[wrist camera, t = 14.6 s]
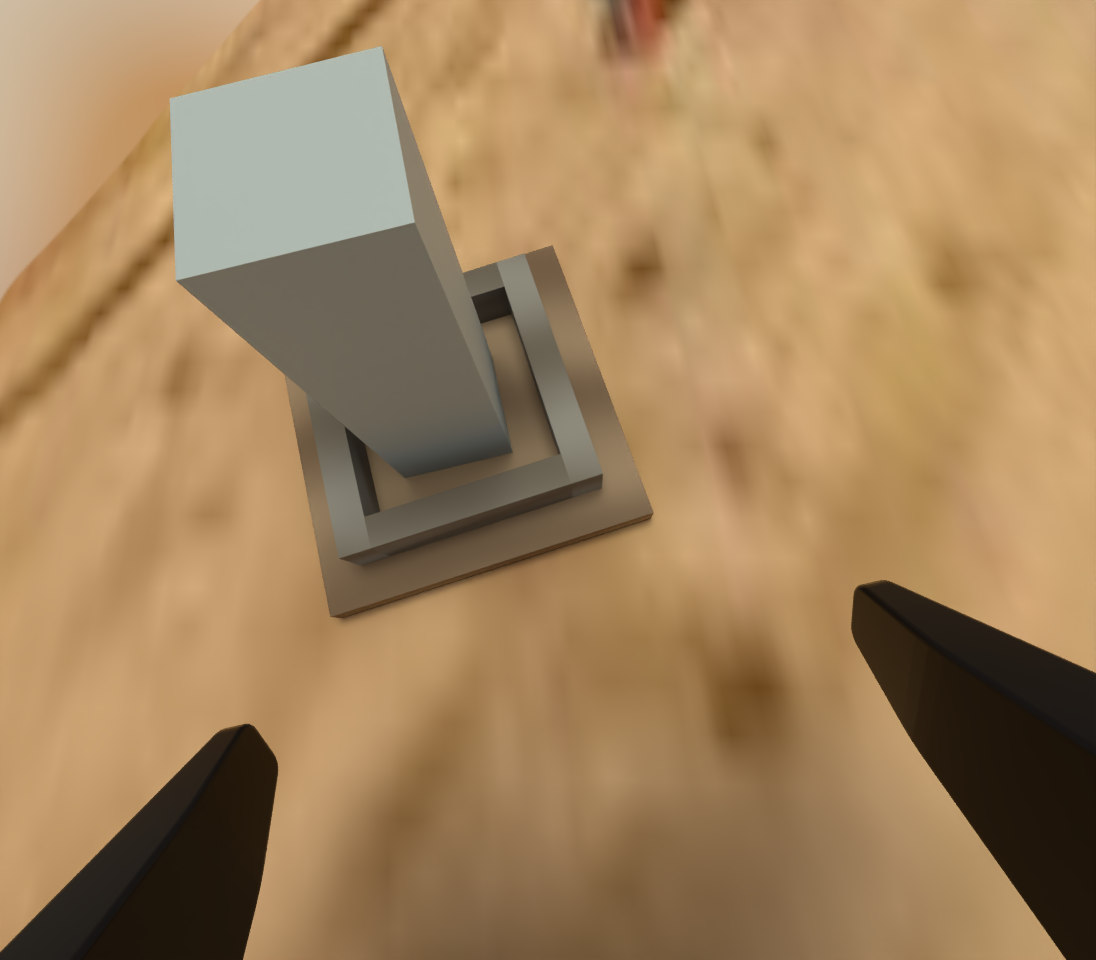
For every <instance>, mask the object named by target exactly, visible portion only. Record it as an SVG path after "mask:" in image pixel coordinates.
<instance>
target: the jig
mask: <svg viewBox="0 0 1096 960" xmlns="http://www.w3.org/2000/svg"><path fill="white" fill-rule="evenodd" d="M463 276H464V279H465V281H466V284H467V287H468V290H469V293H470V295H471V298H472V301H473V304H474V307H475V310H476V312H477V315H478V318H479V321H480V324H481V326H482V329H483V332H484V335H485V338H486V341H487V343H488V346H489V349H490V352H491V355H492V358H493V363H494V368H495V372H496V377H497V381H498V386H499V391H500V395H501V400H502V404H503V409H504V414H505V418H506V423H507V428H508V432H509V437H510V441H511V446H512V451H513V453H509V454H505V455H501V456H496V457H492V458H488V459H484V460H480V461H475V462H471V463H467V464H463V465H458V466H454V467H450V468H446V469H442V470H437V471H433V472H429V473H425V474H421V475H416V476H412V477H408V478H404V477H403V476H402V475H401V474H400V473H399V472H397V471H396V470H395V469H394V468H393V467H392V466H390V465H389V464H388V463H387V462H386V461H385V460H383V459H382V458H381V457H380V456H379V455H378V454H377V453H375V452H374V451H373V450H372V449H371V448H370V447H368V446H367V445H366V444H365V443H364V442H363V441H361V440H360V439H359V438H358V437H357V436H356V435H354V434H353V433H352V432H351V431H350V430H349V429H348V428H346V427H345V426H344V425H343V424H342V423H341V422H339V421H338V420H337V419H336V418H335V417H334V416H332V415H331V414H330V413H329V412H328V411H327V410H325V409H324V408H323V407H322V406H321V405H320V404H319V403H317V402H316V401H315V400H314V399H313V398H312V397H310V396H309V395H308V394H307V393H306V392H305V391H303V390H302V389H301V388H300V387H299V386H298V385H296V384H295V383H294V382H293V381H292V380H291V379H290V378H288V377H287V376H286V375H285V379H286V384H287V390H288V395H289V400H290V406H291V411H292V416H293V421H294V427H295V432H296V437H297V443H298V448H299V453H300V459H301V464H302V469H303V474H304V480H305V485H306V490H307V496H308V501H309V506H310V511H311V517H312V522H313V527H314V533H315V538H316V543H317V548H318V554H319V559H320V564H321V570H322V575H323V580H324V586H325V591H326V596H327V601H328V607H329V612H330V617H337V618H343V617H346V616H349V615H352V614H355V613H359V612H362V611H365V610H368V609H371V608H374V607H377V606H380V605H383V604H386V603H390V602H393V601H396V600H399V599H402V598H405V597H408V596H411V595H414V594H417V593H420V592H424V591H427V590H430V589H433V588H436V587H439V586H442V585H445V584H448V583H451V582H455V581H458V580H461V579H464V578H467V577H470V576H473V575H476V574H479V573H482V572H485V571H489V570H492V569H495V568H498V567H501V566H504V565H507V564H510V563H513V562H516V561H519V560H523V559H526V558H529V557H532V556H535V555H538V554H541V553H544V552H547V551H550V550H554V549H557V548H560V547H563V546H566V545H569V544H572V543H575V542H578V541H581V540H584V539H588V538H591V537H594V536H597V535H600V534H603V533H606V532H609V531H612V530H615V529H619V528H622V527H625V526H628V525H631V524H634V523H637V522H640V521H643V520H646V519H649V518H651V517H652V515H653V510H652V508H651V505H650V502H649V500H648V497H647V494H646V492H645V489H644V486H643V484H642V481H641V478H640V476H639V473H638V471H637V468H636V465H635V463H634V460H633V457H632V455H631V452H630V449H629V447H628V444H627V441H626V439H625V436H624V433H623V431H622V428H621V425H620V423H619V420H618V418H617V415H616V412H615V410H614V407H613V404H612V402H611V399H610V396H609V394H608V391H607V388H606V386H605V383H604V380H603V378H602V375H601V372H600V370H599V367H598V365H597V362H596V359H595V357H594V354H593V351H592V349H591V346H590V343H589V341H588V338H587V335H586V333H585V330H584V327H583V325H582V322H581V320H580V317H579V314H578V312H577V309H576V306H575V304H574V301H573V298H572V296H571V293H570V290H569V288H568V285H567V282H566V280H565V277H564V274H563V272H562V269H561V267H560V264H559V261H558V259H557V256H556V253H555V251H554V248H553V245H552V246H549V247H545V248H542V249H539V250H536V251H533V252H530V253H527V254H521V255H518V256H515V257H512V258H509V259H506V260H502V261H499V262H496V263H493V264H490V265H487V266H483V267H480V268H477V269H474V270H471V271H468V272H465V273H463Z"/></svg>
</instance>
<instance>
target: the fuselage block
mask: <svg viewBox="0 0 1096 960" xmlns="http://www.w3.org/2000/svg"><path fill="white" fill-rule="evenodd" d="M170 117H171V148H172V178H173V209H174V239H175V270H176V281H177V282H178V283H179V284H180V285H182V286H183V287H184V288H185V289H186V290H187V291H189V292H190V293H191V294H192V295H193V296H194V297H196V298H197V299H198V300H199V301H200V302H201V303H203V304H204V305H205V306H206V307H207V308H208V309H209V310H211V311H212V312H213V313H214V314H215V315H216V316H218V317H219V318H220V319H221V320H222V321H223V322H225V323H226V324H227V325H228V326H229V327H230V328H232V329H233V330H234V331H235V332H236V333H237V334H238V335H240V336H241V337H242V338H243V339H244V340H245V341H247V342H248V343H249V344H250V345H251V346H252V347H254V348H255V349H256V350H257V351H258V352H259V353H261V354H262V355H263V356H264V357H265V358H266V359H267V360H269V361H270V362H271V363H272V364H273V365H274V366H276V367H277V368H278V369H279V370H280V371H281V372H283V373H284V374H285V375H286V376H287V377H288V378H290V379H291V380H292V381H293V382H294V383H295V384H296V385H298V386H299V387H300V388H301V389H302V390H303V391H305V392H306V393H307V394H308V395H309V396H310V397H312V398H313V399H314V400H315V401H316V402H317V403H319V404H320V405H321V406H322V407H323V408H324V409H325V410H327V411H328V412H329V413H330V414H331V415H332V416H334V417H335V418H336V419H337V420H338V421H339V422H341V423H342V424H343V425H344V426H345V427H346V428H348V429H349V430H350V431H351V432H352V433H353V434H354V435H356V436H357V437H358V438H359V439H360V440H361V441H363V442H364V443H365V444H366V445H367V446H368V447H370V448H371V449H372V450H373V451H374V452H375V453H377V454H378V455H379V456H380V457H381V458H382V459H383V460H385V461H386V462H387V463H388V464H389V465H390V466H392V467H393V468H394V469H395V470H396V471H397V472H399V473H400V474H401V475H402V476H403V477H404V478H408V477H412V476H416V475H421V474H425V473H429V472H433V471H437V470H442V469H446V468H450V467H454V466H458V465H463V464H467V463H471V462H475V461H480V460H484V459H488V458H492V457H496V456H501V455H505V454H509V453H513V451H512V446H511V441H510V437H509V432H508V428H507V423H506V418H505V414H504V409H503V404H502V400H501V395H500V391H499V386H498V381H497V377H496V372H495V368H494V363H493V358H492V355H491V352H490V349H489V346H488V343H487V341H486V338H485V335H484V332H483V329H482V326H481V324H480V321H479V318H478V315H477V312H476V310H475V307H474V304H473V301H472V298H471V295H470V293H469V290H468V287H467V284H466V281H465V279H464V276H463V273H462V270H461V267H460V264H459V262H458V259H457V256H456V253H455V250H454V248H453V245H452V242H451V239H450V236H449V233H448V231H447V228H446V225H445V222H444V219H443V217H442V214H441V211H440V208H439V205H438V203H437V200H436V197H435V194H434V191H433V188H432V186H431V183H430V180H429V177H428V174H427V172H426V169H425V166H424V163H423V160H422V157H421V155H420V152H419V149H418V146H417V143H416V141H415V138H414V135H413V132H412V129H411V126H410V124H409V121H408V118H407V115H406V112H405V110H404V107H403V104H402V101H401V98H400V95H399V93H398V90H397V87H396V84H395V81H394V79H393V76H392V73H391V70H390V67H389V65H388V62H387V59H386V56H385V53H384V50H383V48H382V46H380V47H376V48H372V49H368V50H364V51H360V52H356V53H352V54H348V55H344V56H340V57H336V58H332V59H328V60H324V61H320V62H316V63H312V64H308V65H304V66H300V67H296V68H291V69H287V70H283V71H279V72H275V73H271V74H267V75H263V76H259V77H255V78H251V79H247V80H243V81H239V82H235V83H231V84H227V85H223V86H219V87H215V88H211V89H207V90H202V91H198V92H194V93H190V94H186V95H182V96H178V97H174V98H170Z"/></svg>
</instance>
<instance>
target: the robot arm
mask: <svg viewBox="0 0 1096 960" xmlns="http://www.w3.org/2000/svg"><path fill="white" fill-rule="evenodd" d="M851 629H852V634H853V638H854V640H855V642H856V644H857V646H858V648H859V650H860V651H861V653H862V655H863V657H864V658H865V660H866V662H867V664H868V665H869V667H870V669H871V671H872V673H873V674H874V676H875V678H876V680H877V681H878V683H879V685H880V687H881V688H882V690H883V692H884V694H885V695H886V697H887V699H888V701H889V702H890V704H891V706H892V708H893V709H894V711H895V713H896V715H897V717H898V718H899V720H900V722H901V724H902V725H903V727H904V729H905V730H906V732H907V734H908V735H909V737H910V739H911V740H912V742H913V743H914V745H915V746H916V748H917V749H918V751H919V752H920V754H921V755H922V757H923V758H924V759H925V761H926V762H927V764H928V765H929V767H930V768H931V769H932V771H933V772H934V774H935V775H936V776H937V778H938V779H939V781H940V782H941V783H942V785H943V786H944V788H945V789H946V791H947V792H948V793H949V795H950V796H951V798H952V799H953V800H954V802H955V803H956V805H957V806H958V807H959V809H960V810H961V812H962V813H963V815H964V816H965V817H966V819H967V820H968V822H969V823H970V824H971V826H972V827H973V829H974V830H975V832H976V833H977V834H978V836H979V837H980V839H981V840H982V841H983V843H984V844H985V846H986V847H987V848H988V850H989V851H990V853H991V854H992V856H993V857H994V858H995V860H996V861H997V863H998V864H999V865H1000V867H1001V868H1002V870H1003V871H1004V872H1005V874H1006V875H1007V877H1008V878H1009V880H1010V881H1011V882H1012V884H1013V885H1014V887H1015V888H1016V889H1017V891H1018V892H1019V894H1020V895H1021V896H1022V898H1023V899H1024V901H1025V902H1026V904H1027V905H1028V906H1029V908H1030V909H1031V911H1032V912H1033V913H1034V915H1035V916H1036V918H1037V919H1038V920H1039V922H1040V923H1041V925H1042V926H1043V928H1044V929H1045V930H1046V932H1047V933H1048V935H1049V936H1050V937H1051V939H1052V940H1053V942H1054V943H1055V944H1056V946H1057V947H1058V949H1059V950H1060V952H1061V953H1062V954H1063V956H1064V957H1065V959H1066V960H1096V673H1095V672H1093V671H1090V670H1088V669H1086V668H1084V667H1081V666H1079V665H1077V664H1075V663H1072V662H1070V661H1068V660H1066V659H1063V658H1061V657H1059V656H1057V655H1054V654H1052V653H1050V652H1048V651H1045V650H1043V649H1041V648H1039V647H1036V646H1034V645H1032V644H1030V643H1027V642H1025V641H1023V640H1021V639H1018V638H1016V637H1014V636H1012V635H1010V634H1007V633H1005V632H1003V631H1001V630H998V629H996V628H994V627H992V626H989V625H987V624H985V623H983V622H980V621H978V620H976V619H974V618H971V617H969V616H967V615H965V614H962V613H960V612H958V611H956V610H953V609H951V608H949V607H947V606H944V605H942V604H940V603H938V602H935V601H933V600H931V599H929V598H926V597H924V596H922V595H920V594H917V593H915V592H913V591H911V590H908V589H906V588H904V587H902V586H899V585H897V584H895V583H893V582H890V581H886V580H880V581H875V582H871V583H866V584H862V585H859V586H857V587H856V589H855V591H854V596H853V609H852V622H851ZM277 777H278V763H277V760H276V757H275V755H274V753H273V752H272V750H271V749H270V748H269V746H268V745H267V743H266V742H265V741H264V739H263V738H262V736H261V735H260V733H259V732H258V731H257V729H256V728H255V727H254V726H252V725H250V724H242V725H238V726H234V727H229V728H225V729H223V730H220V731H219V732H218V733H216V734H215V735H214V736H213V737H212V738H211V739H210V740H209V741H208V742H207V743H206V744H205V745H204V746H203V747H202V748H201V749H200V750H199V751H198V752H197V754H196V755H195V756H194V757H193V758H192V759H191V760H190V761H189V762H188V763H187V764H186V765H185V766H184V767H183V768H182V769H181V770H180V771H179V772H178V773H177V774H176V775H175V776H174V777H173V778H172V779H171V780H170V781H169V782H168V783H167V784H166V785H165V786H164V787H163V788H162V789H161V790H160V791H159V792H158V793H157V794H156V795H155V796H154V797H153V798H152V799H151V800H150V801H149V802H148V803H147V804H146V805H145V806H144V807H143V808H142V809H141V810H140V811H139V812H138V813H137V814H136V815H135V816H134V817H133V818H132V819H131V820H130V821H129V822H128V823H127V824H126V825H125V826H124V827H123V828H122V829H121V830H120V831H119V832H118V833H117V834H116V835H115V837H114V838H113V839H112V840H111V841H110V842H109V843H108V844H107V845H106V846H105V847H104V848H103V849H102V850H101V851H100V852H99V853H98V854H97V855H96V856H95V857H94V858H93V859H92V860H91V861H90V862H89V863H88V864H87V865H86V866H85V867H84V868H83V869H82V870H81V871H80V872H79V873H78V874H77V875H76V876H75V877H74V878H73V879H72V880H71V881H70V882H69V883H68V884H67V885H66V886H65V887H64V888H63V889H62V890H61V891H60V892H59V893H58V894H57V895H56V896H55V897H54V898H53V899H52V900H51V901H50V902H49V903H48V904H47V905H46V906H45V907H44V908H43V909H42V910H41V911H40V912H39V913H38V914H37V915H36V916H35V917H34V918H33V919H32V920H31V921H30V922H29V923H28V925H27V926H26V927H25V928H24V929H23V930H22V931H21V932H20V933H19V934H18V935H17V936H16V937H15V938H14V939H13V940H12V941H11V942H10V943H9V944H8V945H7V946H6V947H5V948H4V949H3V950H2V951H1V952H0V960H243V957H244V953H245V949H246V945H247V941H248V937H249V933H250V929H251V925H252V921H253V916H254V912H255V908H256V904H257V900H258V895H259V891H260V886H261V881H262V875H263V870H264V864H265V857H266V851H267V844H268V837H269V831H270V824H271V817H272V811H273V804H274V797H275V790H276V784H277Z"/></svg>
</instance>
